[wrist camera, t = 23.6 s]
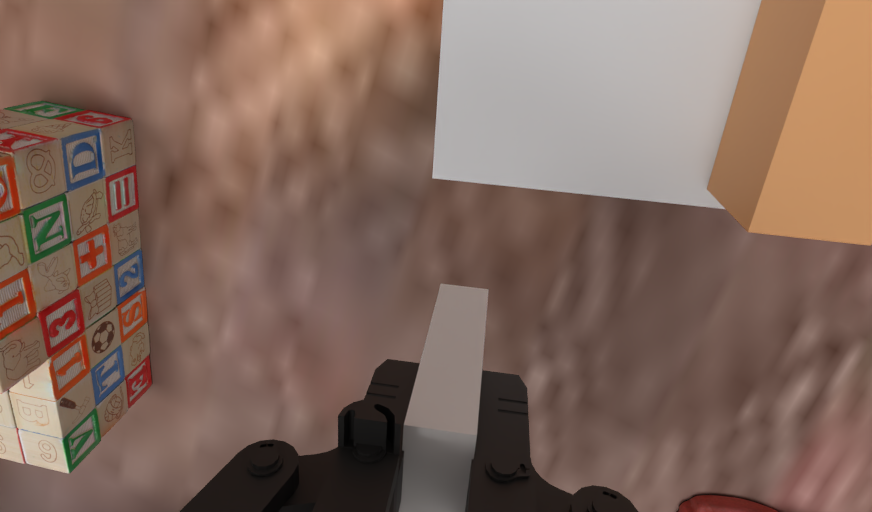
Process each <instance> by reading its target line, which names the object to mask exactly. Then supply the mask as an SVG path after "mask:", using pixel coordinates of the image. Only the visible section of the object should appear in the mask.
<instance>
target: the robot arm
mask: <svg viewBox="0 0 872 512" xmlns="http://www.w3.org/2000/svg"><path fill="white" fill-rule="evenodd" d="M488 291H489V289H482V288H473V287H465V286H457V285H448V284H441V285H440V289H439V292H438V296H437V300H436V304H435V308H434V311H433V315H432V319H431V323H430V327H429V330H428V334H427V338H426V342H425V346H424V350H423V353H422V357H421V361H420V363H413V362H405V361H398V360H390V359H387V360H386V361H385V362H384V363H382V364H381V365H380V366H379V367H378V368H377V369H376V370H375V372H374V375H373V377H372V380H371V384H370V385H369V388H368V391H367V394H366V396H365V398H364V400H361V401H357V402H353V403H351V404H350V405H348V406H346V407H345V408H344V409H343V410H342V411H341V413H340V414H339V415H338V447H337V448H335V449H333V450H331V451H328V452H325V453H320V454H314V455H304V456H298V453H297V452H296V450H295V449H294V447H293V446H291V445H290V444H288V443H286V442H284V441H278V440H264V441H259V442H256V443H253V444H251V445H248V446H247V447H246V448H244V449H243V450H241V451H240V452H239V453H238V454H237V455H236V456H235V457H234V458H233V459H232V460H231V461H230V462H229V463H228V464H227V465H226V466H225V467H224V468H223V469H222V470H221V471H220V472H219V473H218V474H217V475H216V476H215V477H214V478H213V479H212V480H211V481H210V482H209V483H208V484H207V485H206V486H205V487H204V488H203V489H202V490H201V491H200V492H199V493H198V494H197V495H196V496H195V497H194V498H193V499H192V500H191V501H190V502H189V503H188V504H187V505H186V506H185V507H184V508H183V509H182V510H181V511H180V512H638V511H637V509H636V508H635V507H634V505H633V504H632V503H631V502H630V500H628V499H627V498H626V497H624V496H623V495H622V494H620V493H619V492H617V491H614V490H612V489H609V488H607V487H601V486H589V487H584V488H581V489H580V490H579V491H577V492H576V493H575V494H574V495H572V494H570V493H567V492H565V491H563V490H560V489H558V488H556V487H554V486H552V485H550V484H549V483H547V482H546V481H545V480H544V479H542V478H541V477H540V476H539V475H538V473H537V472H536V471H535V469H534V467H533V465H532V463H531V458H530V442H529V420H528V405H527V404H528V398H527V387H526V386H525V384H524V383H523V381H522V380H521V378H520V377H519V375H513V374H506V373H498V372H490V371H483V370H482V365H483V353H484V340H485V328H486V315H487V303H488Z"/></svg>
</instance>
